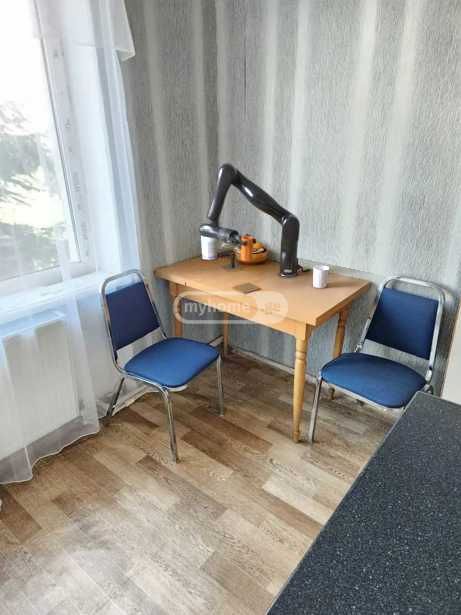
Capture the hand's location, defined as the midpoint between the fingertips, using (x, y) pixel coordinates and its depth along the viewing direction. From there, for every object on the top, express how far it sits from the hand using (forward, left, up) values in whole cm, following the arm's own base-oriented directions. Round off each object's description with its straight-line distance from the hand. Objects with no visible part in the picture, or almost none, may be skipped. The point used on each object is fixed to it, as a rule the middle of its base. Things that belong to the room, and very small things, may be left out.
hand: (250, 242), depth 191 cm
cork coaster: (+1, -2, -25) cm, 25 cm away
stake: (-6, -35, -25) cm, 44 cm away
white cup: (-35, +11, -25) cm, 44 cm away
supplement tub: (0, -57, -25) cm, 62 cm away
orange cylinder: (+1, -2, -9) cm, 9 cm away
